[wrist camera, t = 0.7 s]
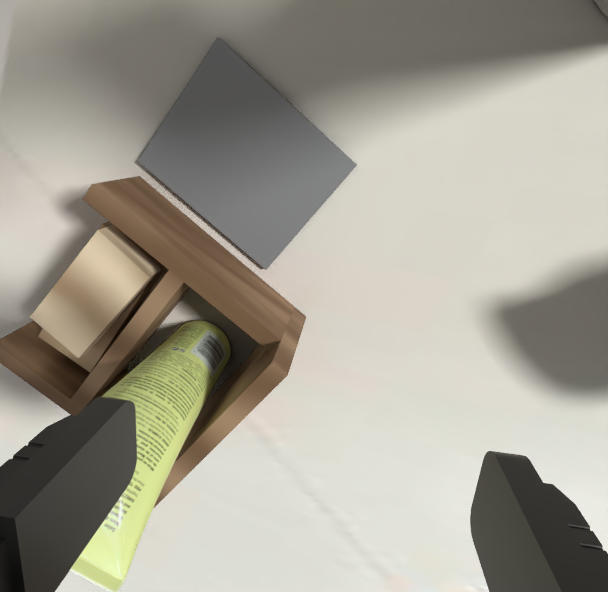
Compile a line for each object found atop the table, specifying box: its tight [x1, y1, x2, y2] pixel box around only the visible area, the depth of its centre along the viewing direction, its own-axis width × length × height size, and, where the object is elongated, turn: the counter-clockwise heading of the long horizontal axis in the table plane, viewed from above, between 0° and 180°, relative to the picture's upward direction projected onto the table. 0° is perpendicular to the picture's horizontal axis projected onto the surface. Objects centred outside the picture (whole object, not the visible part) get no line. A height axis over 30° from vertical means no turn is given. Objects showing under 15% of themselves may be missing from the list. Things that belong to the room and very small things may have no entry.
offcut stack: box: [30, 222, 169, 372], centre depth 33 cm, size 12×5×5 cm, turn 140°
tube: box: [69, 320, 231, 592], centre depth 27 cm, size 6×5×20 cm
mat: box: [138, 38, 356, 270], centre depth 31 cm, size 10×12×1 cm
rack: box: [0, 176, 306, 507], centre depth 32 cm, size 16×16×9 cm
